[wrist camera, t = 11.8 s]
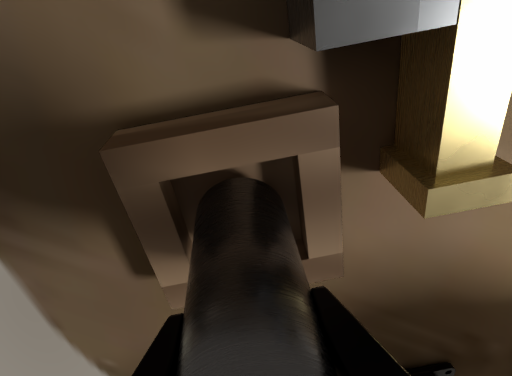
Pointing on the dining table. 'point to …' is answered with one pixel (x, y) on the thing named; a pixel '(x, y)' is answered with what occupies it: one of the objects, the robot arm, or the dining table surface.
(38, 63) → the dining table surface
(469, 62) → the drift key
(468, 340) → the dining table surface
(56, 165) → the dining table surface
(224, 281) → the grey peg
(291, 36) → the socket block
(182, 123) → the brown square frame
